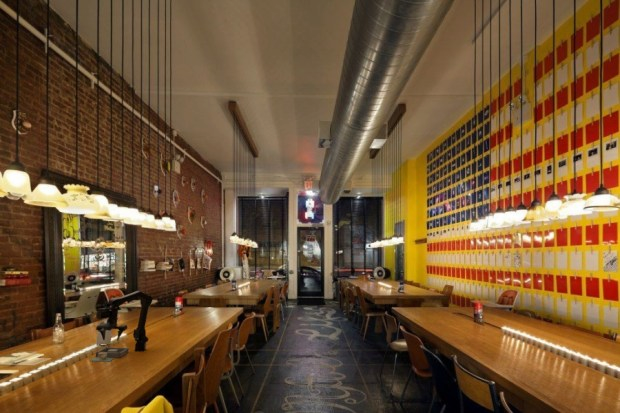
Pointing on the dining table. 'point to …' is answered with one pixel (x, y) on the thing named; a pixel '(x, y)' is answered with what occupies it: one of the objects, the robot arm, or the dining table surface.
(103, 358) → the ash cube
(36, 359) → the dining table surface
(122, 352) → the housing
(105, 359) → the teal mat
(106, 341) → the milk carton
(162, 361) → the dining table surface
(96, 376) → the dining table surface
